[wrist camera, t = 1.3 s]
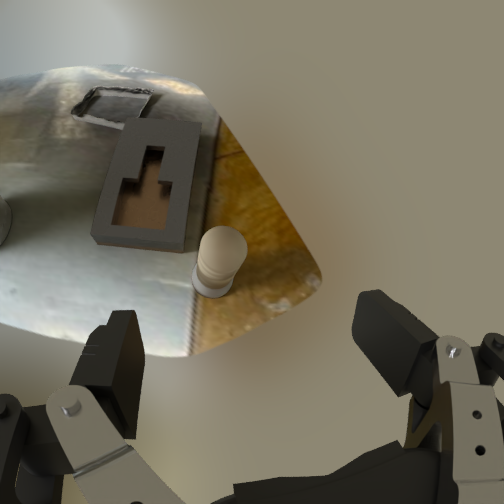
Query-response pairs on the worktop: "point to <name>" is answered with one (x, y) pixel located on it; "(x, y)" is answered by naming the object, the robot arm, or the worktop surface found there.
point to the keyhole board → (148, 186)
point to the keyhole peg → (218, 261)
